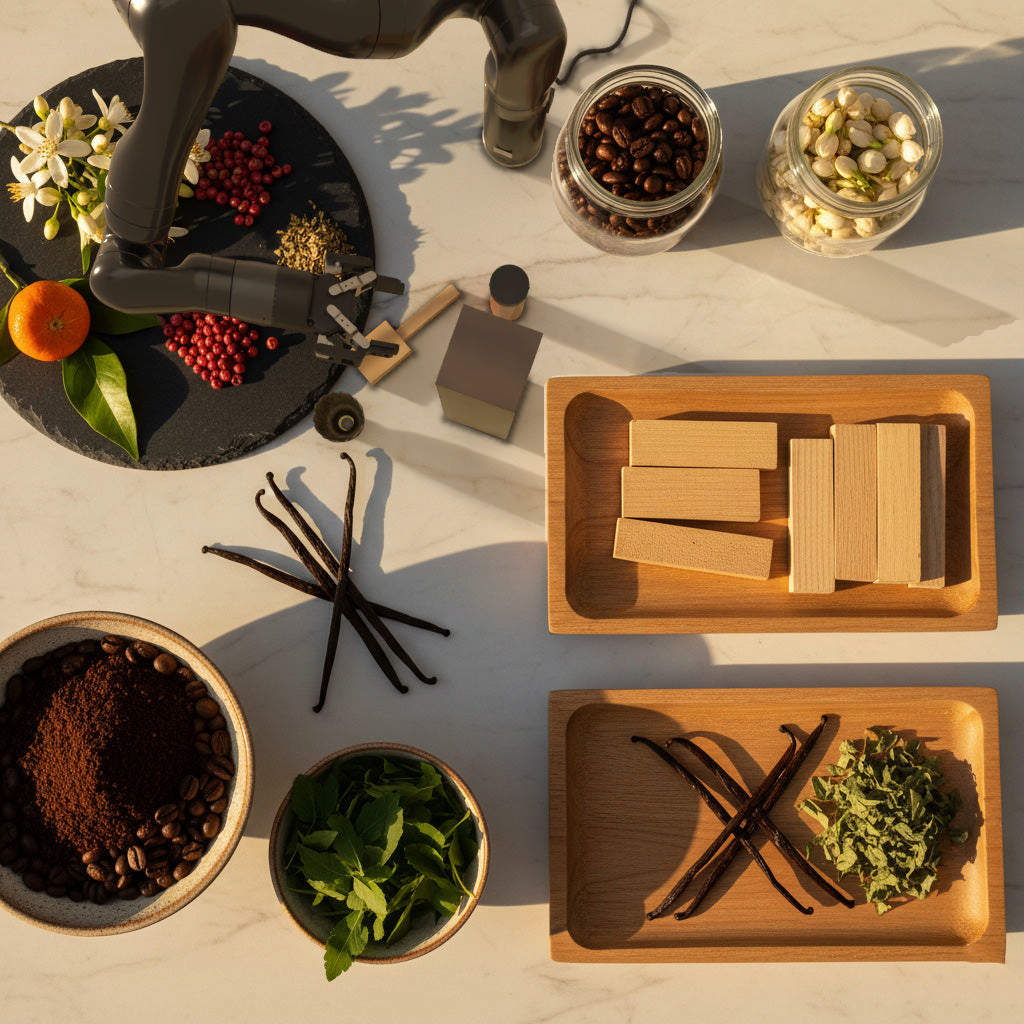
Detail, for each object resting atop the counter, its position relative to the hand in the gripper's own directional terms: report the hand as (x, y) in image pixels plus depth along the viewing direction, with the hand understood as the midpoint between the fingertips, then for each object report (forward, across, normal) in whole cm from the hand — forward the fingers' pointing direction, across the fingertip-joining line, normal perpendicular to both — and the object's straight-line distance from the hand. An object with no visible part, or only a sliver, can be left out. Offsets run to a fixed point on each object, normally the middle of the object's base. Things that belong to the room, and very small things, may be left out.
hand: (401, 319), depth 104 cm
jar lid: (+16, +10, +4) cm, 19 cm away
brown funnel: (-4, -7, +24) cm, 26 cm away
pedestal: (+17, -2, +18) cm, 24 cm away
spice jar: (+18, +12, +14) cm, 26 cm away
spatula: (+4, +7, +19) cm, 21 cm away
